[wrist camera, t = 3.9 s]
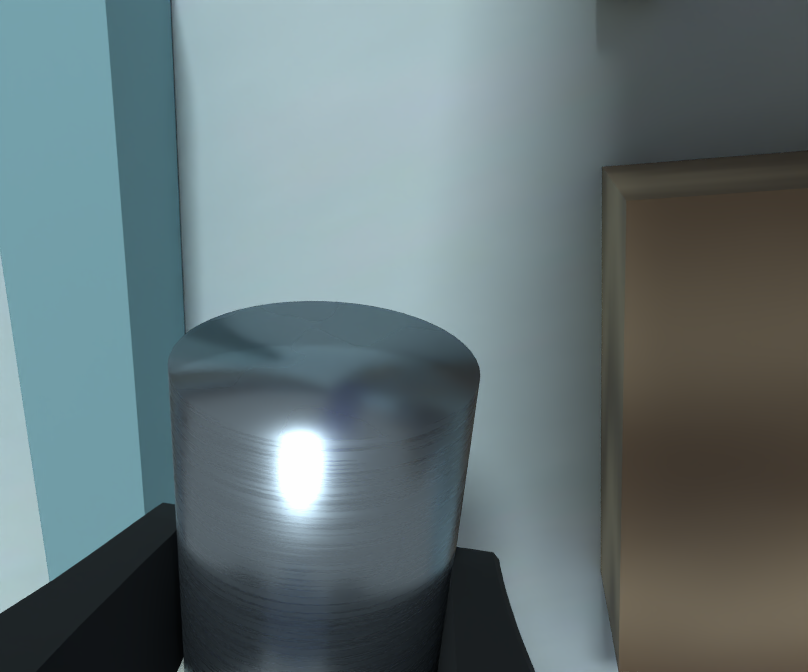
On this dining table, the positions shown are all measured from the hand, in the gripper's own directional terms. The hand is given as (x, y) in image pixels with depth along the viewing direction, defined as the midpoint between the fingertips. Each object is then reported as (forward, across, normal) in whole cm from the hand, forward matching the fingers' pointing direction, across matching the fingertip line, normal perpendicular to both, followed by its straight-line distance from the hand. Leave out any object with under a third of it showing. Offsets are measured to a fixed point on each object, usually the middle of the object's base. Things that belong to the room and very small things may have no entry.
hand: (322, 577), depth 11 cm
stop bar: (+9, +8, 0) cm, 12 cm away
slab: (+9, -8, 0) cm, 13 cm away
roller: (+2, 0, 0) cm, 2 cm away
